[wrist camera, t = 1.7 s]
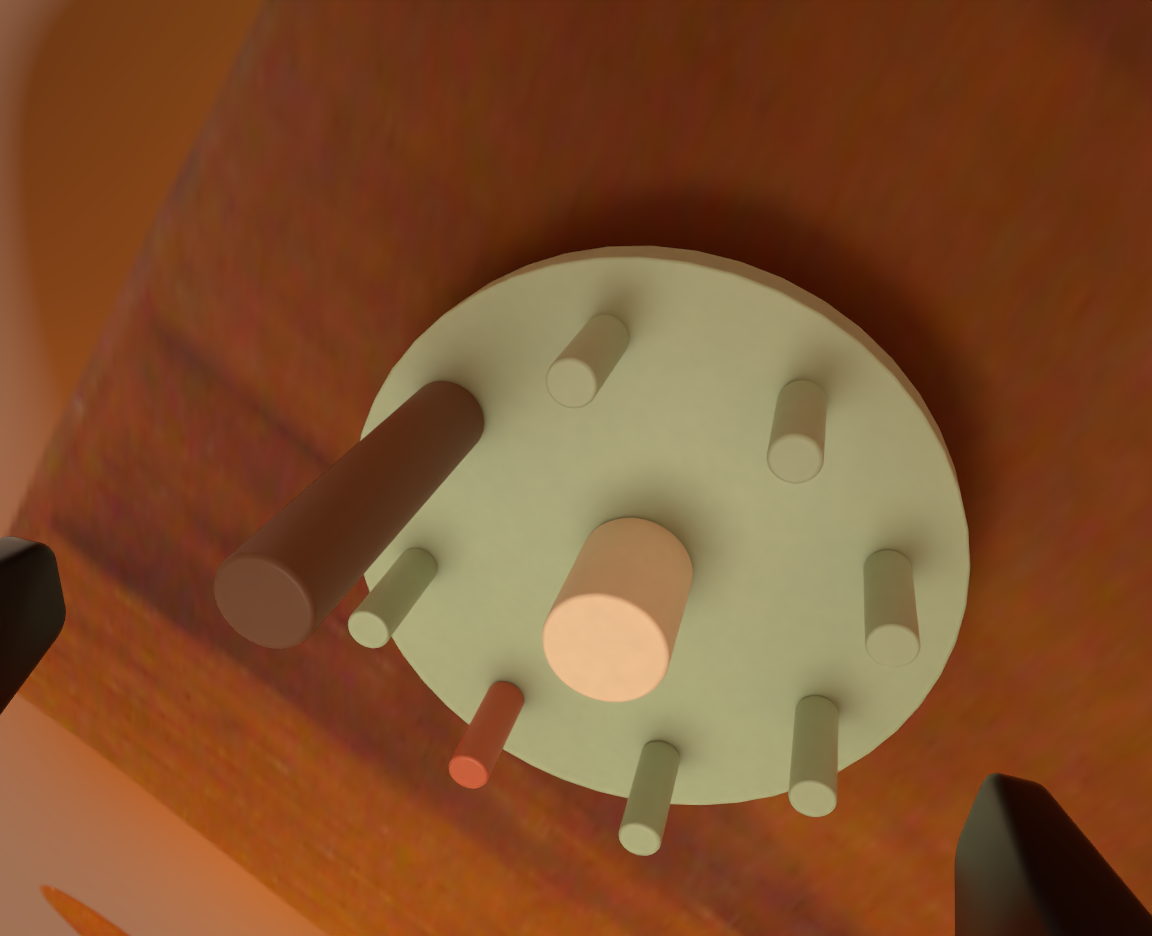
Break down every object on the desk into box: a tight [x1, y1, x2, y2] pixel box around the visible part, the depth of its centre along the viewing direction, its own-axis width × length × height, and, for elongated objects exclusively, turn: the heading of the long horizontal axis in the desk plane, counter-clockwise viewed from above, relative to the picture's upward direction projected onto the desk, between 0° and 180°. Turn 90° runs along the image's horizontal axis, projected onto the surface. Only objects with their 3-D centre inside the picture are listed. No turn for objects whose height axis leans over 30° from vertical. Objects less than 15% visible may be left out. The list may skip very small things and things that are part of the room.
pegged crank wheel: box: [214, 246, 970, 856], centre depth 17 cm, size 13×13×8 cm
